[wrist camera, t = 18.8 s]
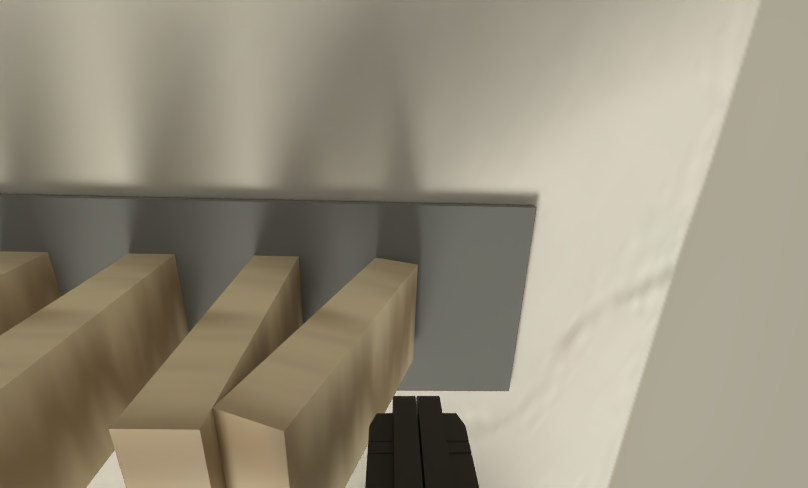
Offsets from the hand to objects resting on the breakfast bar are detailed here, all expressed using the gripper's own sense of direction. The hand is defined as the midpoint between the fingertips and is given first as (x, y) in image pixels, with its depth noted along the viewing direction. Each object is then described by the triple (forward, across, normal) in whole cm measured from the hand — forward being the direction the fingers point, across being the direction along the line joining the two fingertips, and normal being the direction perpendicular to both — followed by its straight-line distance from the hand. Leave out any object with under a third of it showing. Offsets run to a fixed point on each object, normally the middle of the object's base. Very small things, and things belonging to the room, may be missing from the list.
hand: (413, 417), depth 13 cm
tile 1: (+6, 0, 0) cm, 7 cm away
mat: (+7, +11, 0) cm, 13 cm away
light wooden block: (+7, +6, 0) cm, 9 cm away
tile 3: (+7, +11, 0) cm, 13 cm away
